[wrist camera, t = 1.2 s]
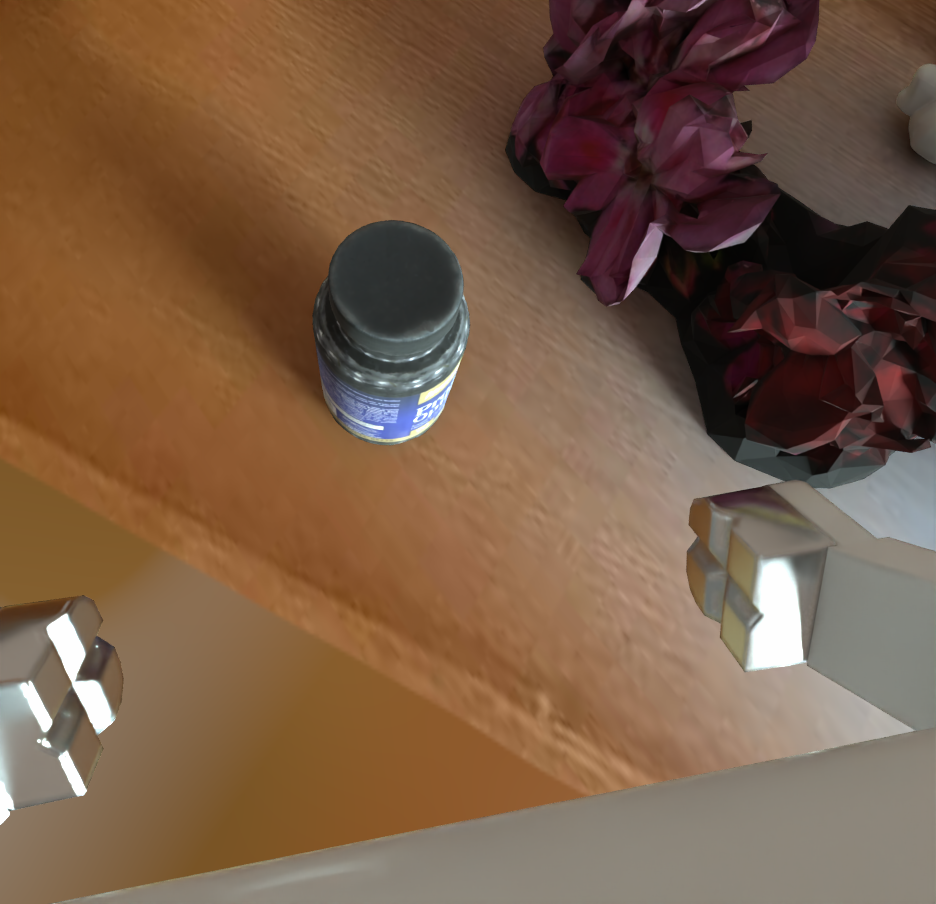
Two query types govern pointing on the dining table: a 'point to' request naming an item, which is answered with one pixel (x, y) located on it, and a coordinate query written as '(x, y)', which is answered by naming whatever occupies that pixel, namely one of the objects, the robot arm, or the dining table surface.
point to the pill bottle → (390, 330)
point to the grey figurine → (921, 111)
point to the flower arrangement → (734, 234)
